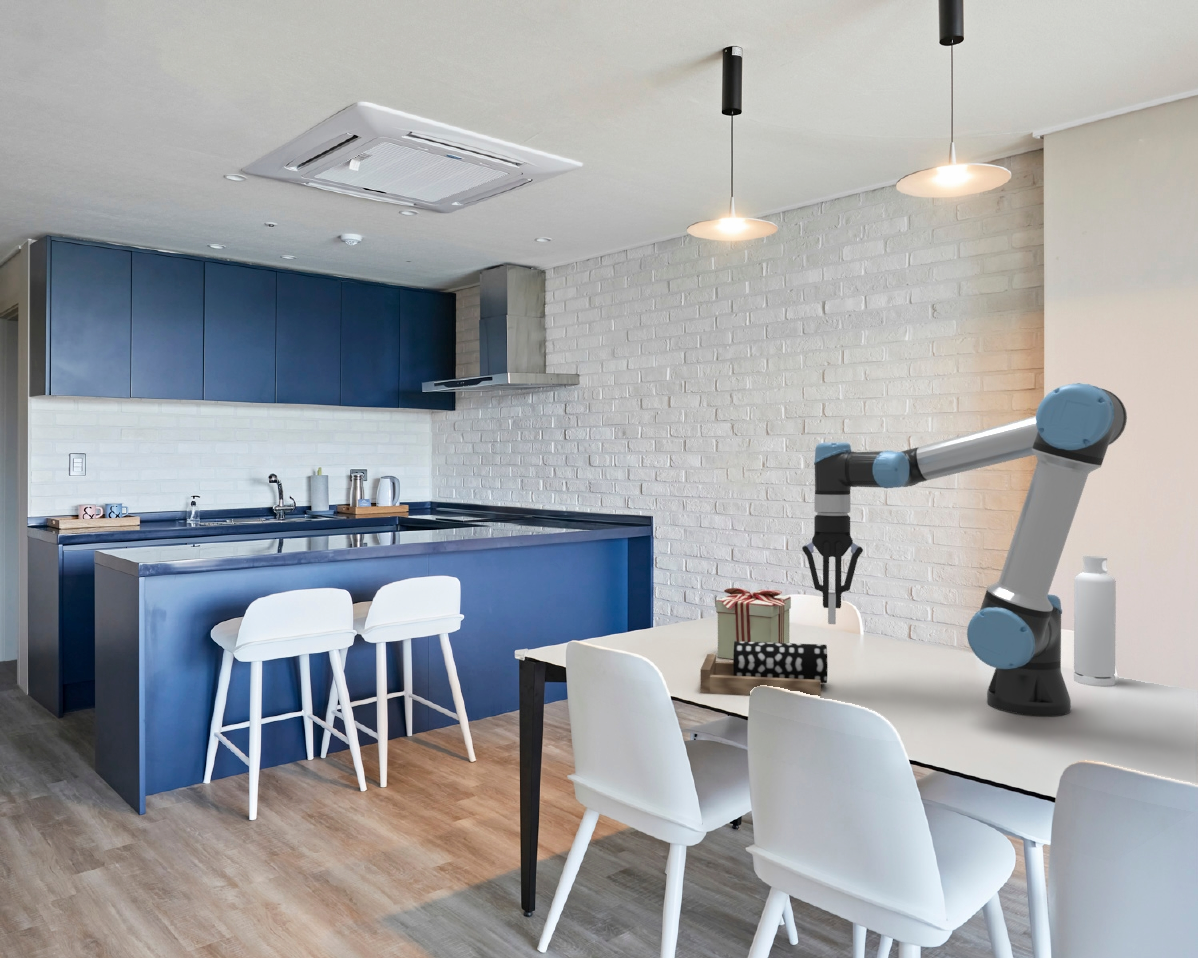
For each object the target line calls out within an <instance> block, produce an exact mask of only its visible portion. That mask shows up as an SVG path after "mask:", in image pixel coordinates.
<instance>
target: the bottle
mask: <svg viewBox="0 0 1198 958" xmlns="http://www.w3.org/2000/svg"><path fill="white" fill-rule="evenodd" d="M1082 561H1083V569H1082V572H1080V573H1078V574H1077V575H1076V576H1075V577H1074V579H1073V582H1074V585H1073V587H1074V589H1073V591H1074V593H1073V599H1074V601H1073V605H1074V606H1073V623H1074V624H1073V670H1074V672H1073V680H1074V682H1076V683H1078V684H1082V685H1086V686H1092V687H1093V686H1094V687H1112V686H1115V685H1116V676H1115V675H1116V621H1117V620H1116V612H1117V611H1116V610H1117V609H1116V608H1117V607H1116V603H1117V595H1116V594H1117V591H1116V589H1117V588H1116V586H1117V585H1116V584H1117V583H1116V582H1117V581H1116V579H1115V578H1114V577H1113V575H1111V574H1110V573H1108V568H1107V561H1108V557H1106V556H1099V555H1085V556H1082Z"/></svg>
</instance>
